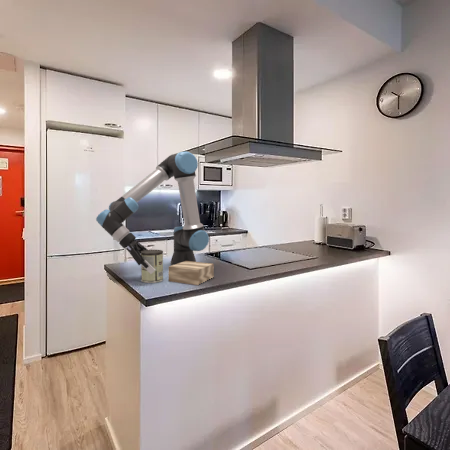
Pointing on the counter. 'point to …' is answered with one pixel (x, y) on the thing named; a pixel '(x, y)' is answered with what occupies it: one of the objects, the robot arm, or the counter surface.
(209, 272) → the birch block
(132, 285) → the counter surface
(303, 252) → the counter surface
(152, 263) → the coffee can
